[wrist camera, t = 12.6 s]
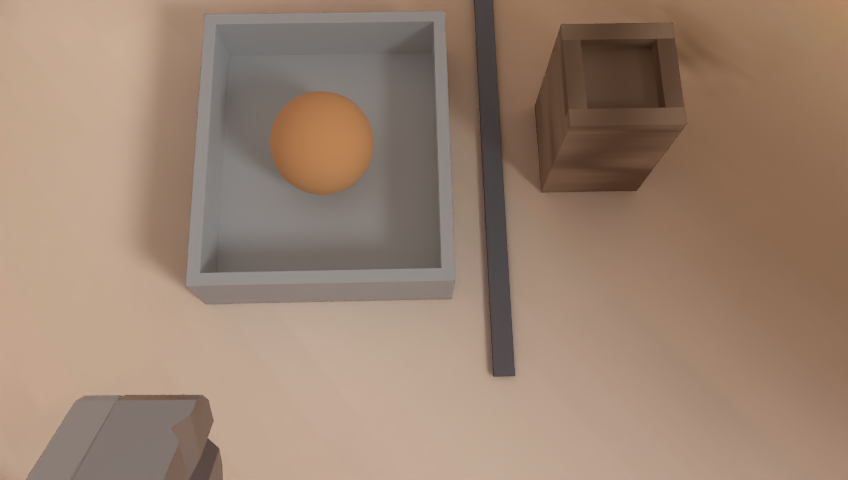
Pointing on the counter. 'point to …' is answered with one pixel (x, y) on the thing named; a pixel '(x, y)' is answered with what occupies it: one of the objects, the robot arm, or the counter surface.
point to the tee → (608, 106)
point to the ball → (321, 142)
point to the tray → (333, 213)
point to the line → (494, 192)
